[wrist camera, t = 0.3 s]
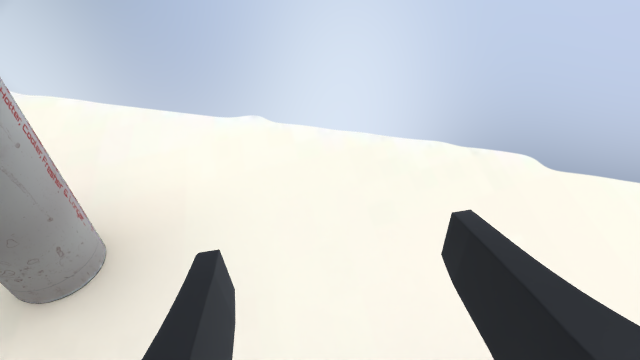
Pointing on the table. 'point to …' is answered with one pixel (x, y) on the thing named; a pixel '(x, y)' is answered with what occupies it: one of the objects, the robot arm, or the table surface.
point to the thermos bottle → (39, 218)
